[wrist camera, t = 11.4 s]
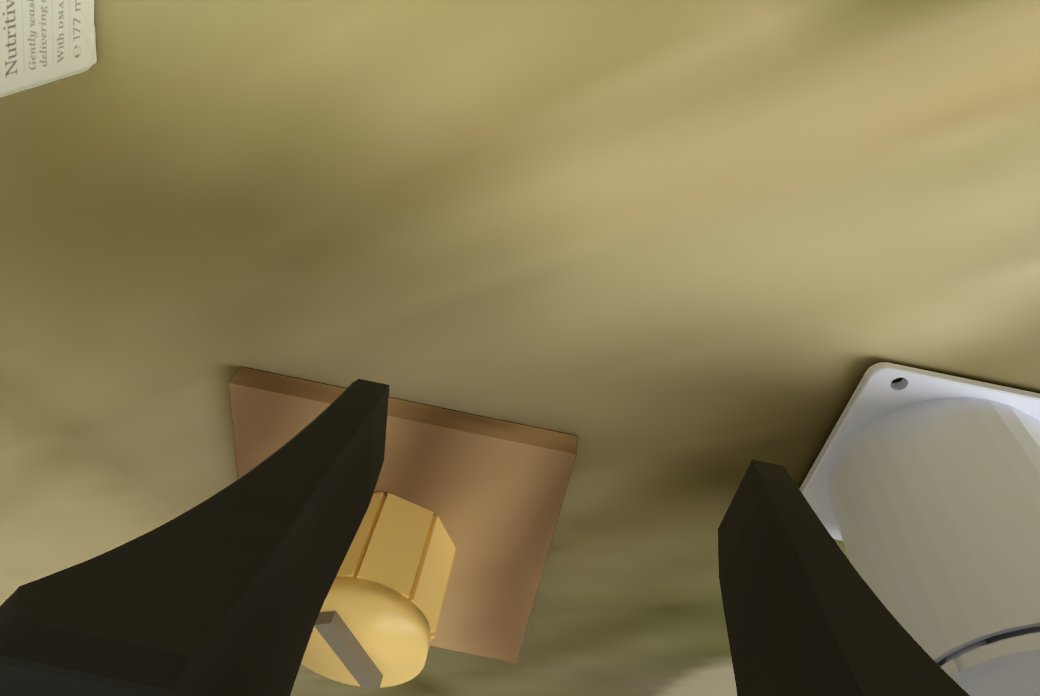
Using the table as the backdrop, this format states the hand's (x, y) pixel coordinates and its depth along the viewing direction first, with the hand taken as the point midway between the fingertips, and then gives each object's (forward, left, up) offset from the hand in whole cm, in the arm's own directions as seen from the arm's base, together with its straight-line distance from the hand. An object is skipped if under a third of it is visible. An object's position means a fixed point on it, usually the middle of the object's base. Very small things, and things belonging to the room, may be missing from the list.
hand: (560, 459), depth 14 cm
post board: (+5, +15, -10) cm, 19 cm away
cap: (+5, +15, -9) cm, 18 cm away
